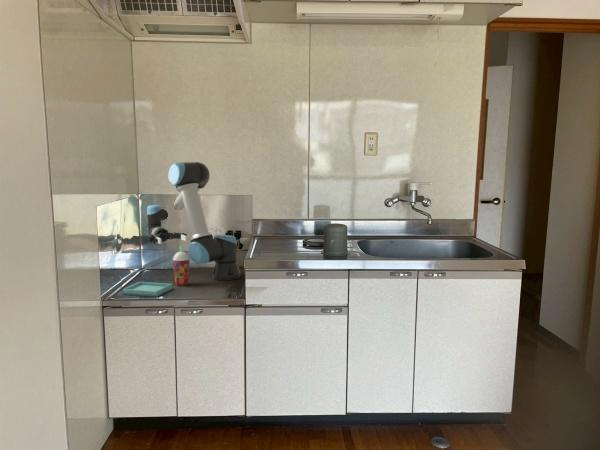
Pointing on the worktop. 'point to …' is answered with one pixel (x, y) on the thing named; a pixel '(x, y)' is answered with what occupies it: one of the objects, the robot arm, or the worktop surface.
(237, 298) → the worktop surface
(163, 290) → the tray
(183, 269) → the smoothie
